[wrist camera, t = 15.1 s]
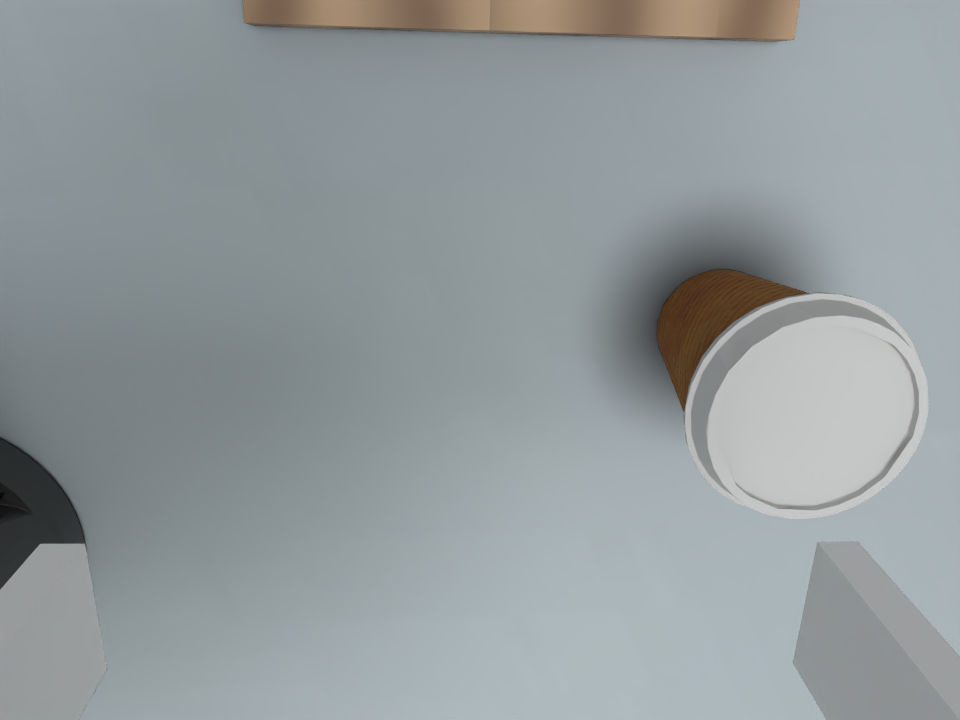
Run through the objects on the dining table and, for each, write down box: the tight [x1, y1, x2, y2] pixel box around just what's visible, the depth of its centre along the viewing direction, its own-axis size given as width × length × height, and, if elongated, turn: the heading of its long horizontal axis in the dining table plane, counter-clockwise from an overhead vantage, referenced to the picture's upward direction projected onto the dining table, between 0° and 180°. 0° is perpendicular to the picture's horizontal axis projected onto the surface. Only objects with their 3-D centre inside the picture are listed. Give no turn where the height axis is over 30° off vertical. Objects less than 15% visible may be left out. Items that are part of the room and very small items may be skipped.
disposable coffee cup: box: [657, 269, 928, 519], centre depth 35 cm, size 10×10×12 cm
